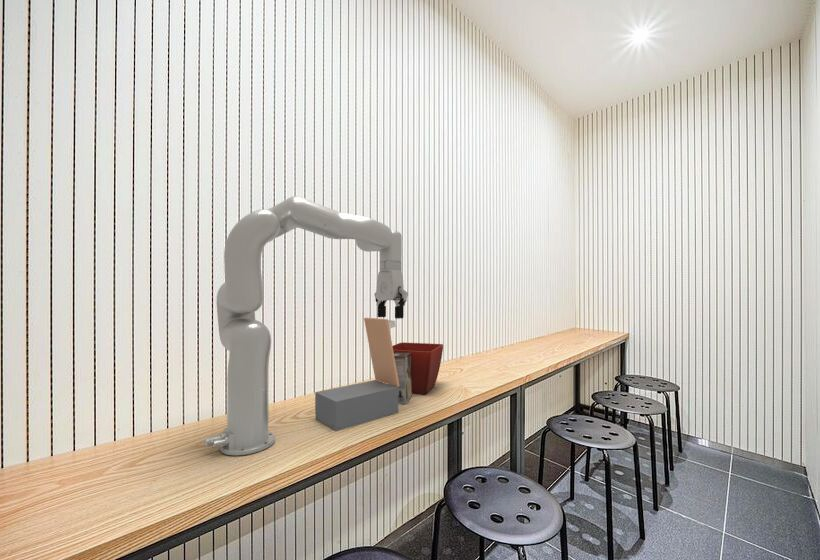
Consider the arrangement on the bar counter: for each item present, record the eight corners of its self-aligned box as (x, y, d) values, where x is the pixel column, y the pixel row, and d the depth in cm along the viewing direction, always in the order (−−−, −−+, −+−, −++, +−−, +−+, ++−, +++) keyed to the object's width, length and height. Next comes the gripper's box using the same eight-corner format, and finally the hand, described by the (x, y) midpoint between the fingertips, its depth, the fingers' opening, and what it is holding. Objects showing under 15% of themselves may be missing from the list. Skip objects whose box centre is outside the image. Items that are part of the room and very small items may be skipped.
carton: (336, 431, 97) (336, 401, 98) (315, 418, 107) (315, 392, 108) (398, 412, 112) (398, 387, 112) (374, 403, 121) (374, 379, 122)
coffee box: (395, 395, 130) (394, 352, 131) (412, 396, 129) (411, 352, 130) (388, 403, 121) (388, 356, 122) (406, 404, 120) (406, 356, 121)
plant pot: (431, 398, 127) (430, 351, 127) (383, 393, 133) (382, 349, 134) (444, 385, 144) (444, 343, 145) (401, 381, 151) (400, 342, 152)
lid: (385, 319, 110) (399, 315, 114) (363, 318, 120) (377, 313, 123) (397, 386, 112) (411, 380, 116) (375, 380, 122) (388, 373, 125)
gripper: (367, 268, 124) (366, 317, 123) (397, 264, 111) (397, 319, 110) (384, 269, 129) (384, 316, 128) (415, 266, 116) (415, 318, 115)
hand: (390, 317), depth 119 cm, fingers open, 9 cm apart
